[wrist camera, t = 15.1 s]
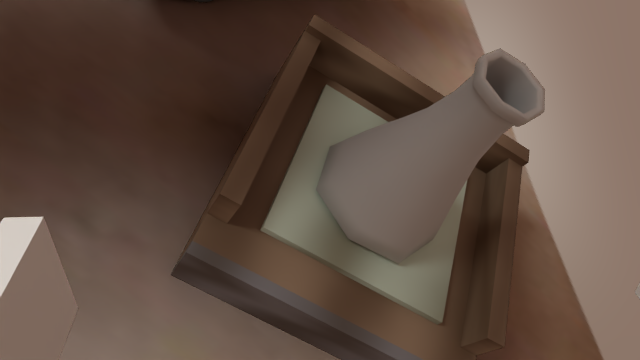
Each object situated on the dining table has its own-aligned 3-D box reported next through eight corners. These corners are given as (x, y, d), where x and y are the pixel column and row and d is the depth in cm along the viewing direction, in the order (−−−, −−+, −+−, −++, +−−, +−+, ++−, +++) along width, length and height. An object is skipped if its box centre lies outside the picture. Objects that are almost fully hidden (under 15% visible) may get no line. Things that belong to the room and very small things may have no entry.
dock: (170, 274, 25) (201, 229, 21) (277, 74, 34) (314, 13, 30) (433, 405, 28) (507, 389, 24) (469, 190, 37) (529, 150, 33)
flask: (454, 199, 31) (602, 99, 23) (401, 290, 26) (561, 205, 19) (359, 113, 31) (476, -17, 23) (289, 191, 26) (404, 62, 18)
